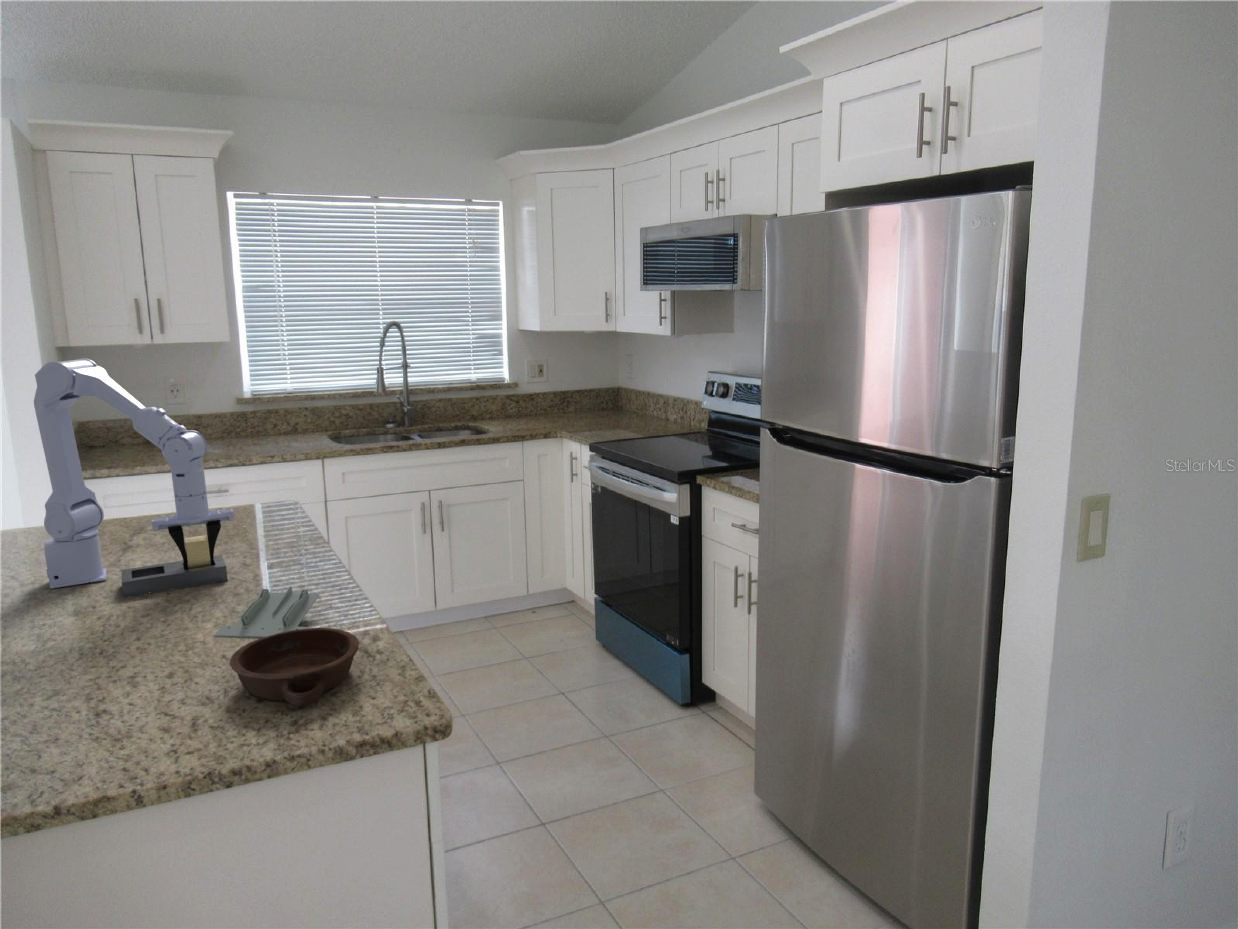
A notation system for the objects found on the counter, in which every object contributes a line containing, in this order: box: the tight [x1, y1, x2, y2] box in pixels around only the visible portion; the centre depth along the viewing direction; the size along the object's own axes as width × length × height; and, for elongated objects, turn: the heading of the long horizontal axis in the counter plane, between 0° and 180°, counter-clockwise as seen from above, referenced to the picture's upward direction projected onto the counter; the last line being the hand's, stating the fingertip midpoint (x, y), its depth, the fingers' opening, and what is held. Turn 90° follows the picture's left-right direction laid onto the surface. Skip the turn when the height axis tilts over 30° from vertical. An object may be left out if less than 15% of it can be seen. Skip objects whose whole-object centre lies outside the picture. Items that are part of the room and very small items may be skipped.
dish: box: [229, 627, 360, 707], centre depth 125 cm, size 18×22×5 cm
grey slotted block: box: [121, 554, 228, 598], centre depth 170 cm, size 18×9×3 cm, turn 120°
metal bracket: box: [214, 586, 320, 639], centre depth 148 cm, size 14×6×15 cm
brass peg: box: [184, 534, 211, 570], centre depth 172 cm, size 4×4×7 cm
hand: (198, 560), depth 172 cm, fingers closed on brass peg, 4 cm apart
